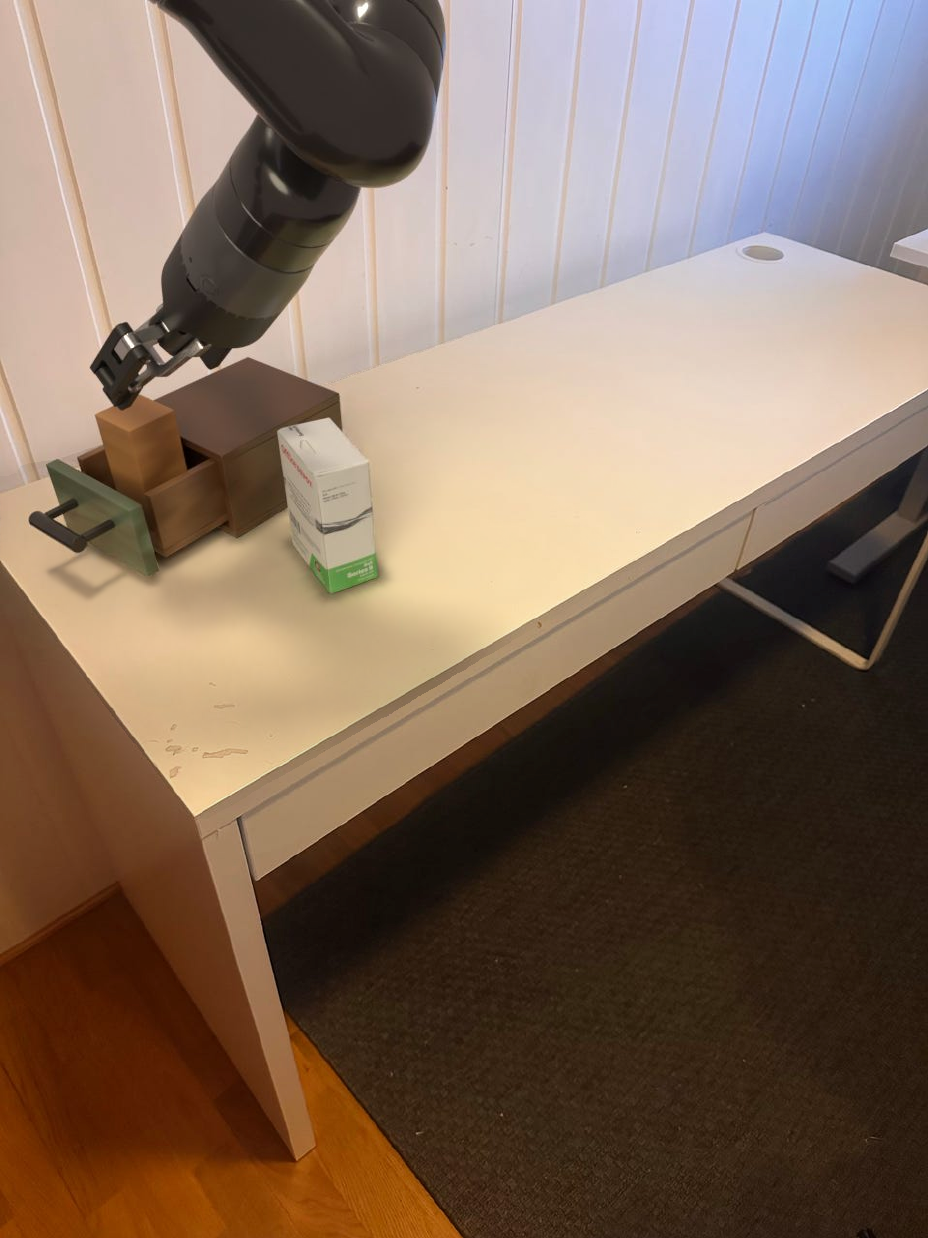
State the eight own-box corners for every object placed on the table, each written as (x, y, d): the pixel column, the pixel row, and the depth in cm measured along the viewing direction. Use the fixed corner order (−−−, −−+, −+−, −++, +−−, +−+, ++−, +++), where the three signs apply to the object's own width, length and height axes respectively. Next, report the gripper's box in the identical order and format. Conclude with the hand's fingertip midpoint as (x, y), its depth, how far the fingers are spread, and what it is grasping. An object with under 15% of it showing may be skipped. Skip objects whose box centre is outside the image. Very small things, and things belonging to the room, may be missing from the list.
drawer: (106, 603, 73) (84, 535, 69) (25, 551, 78) (0, 485, 74) (266, 506, 84) (255, 443, 79) (185, 466, 89) (171, 404, 84)
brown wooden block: (155, 532, 79) (128, 431, 72) (122, 514, 81) (93, 414, 74) (196, 509, 81) (174, 409, 75) (163, 491, 83) (139, 393, 77)
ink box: (381, 579, 77) (373, 460, 69) (327, 596, 75) (314, 477, 68) (340, 527, 83) (329, 412, 75) (290, 543, 81) (273, 426, 73)
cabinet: (237, 538, 81) (221, 456, 76) (148, 491, 87) (127, 411, 81) (346, 471, 90) (339, 392, 85) (259, 432, 96) (247, 356, 90)
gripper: (287, 182, 60) (204, 307, 73) (110, 238, 52) (50, 368, 64) (351, 280, 61) (258, 386, 74) (188, 350, 53) (114, 456, 65)
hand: (162, 377), depth 69 cm, fingers open, 8 cm apart
